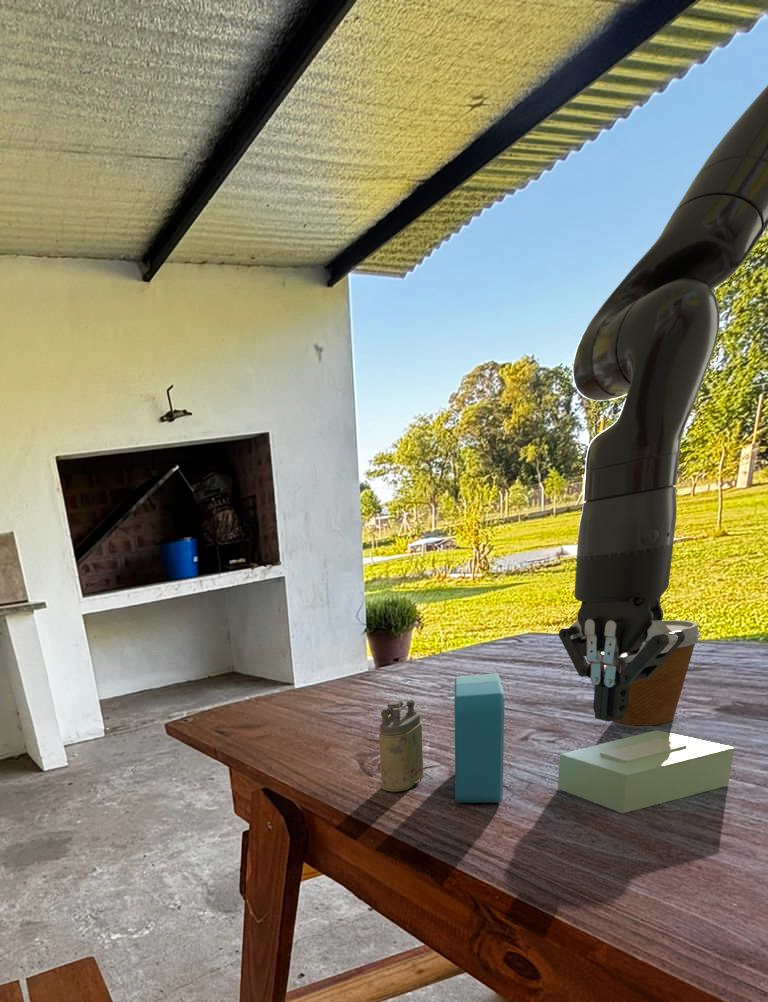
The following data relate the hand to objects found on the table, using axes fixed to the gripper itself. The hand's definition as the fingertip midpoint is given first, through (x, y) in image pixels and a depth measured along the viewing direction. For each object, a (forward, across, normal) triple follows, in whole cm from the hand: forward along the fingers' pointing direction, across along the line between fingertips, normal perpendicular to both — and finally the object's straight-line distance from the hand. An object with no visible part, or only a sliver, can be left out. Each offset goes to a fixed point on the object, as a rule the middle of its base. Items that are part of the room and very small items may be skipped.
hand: (608, 718), depth 65 cm
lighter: (+7, +11, +18) cm, 22 cm away
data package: (+7, +5, +12) cm, 15 cm away
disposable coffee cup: (+7, +13, -18) cm, 23 cm away
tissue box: (+4, 0, 0) cm, 5 cm away
